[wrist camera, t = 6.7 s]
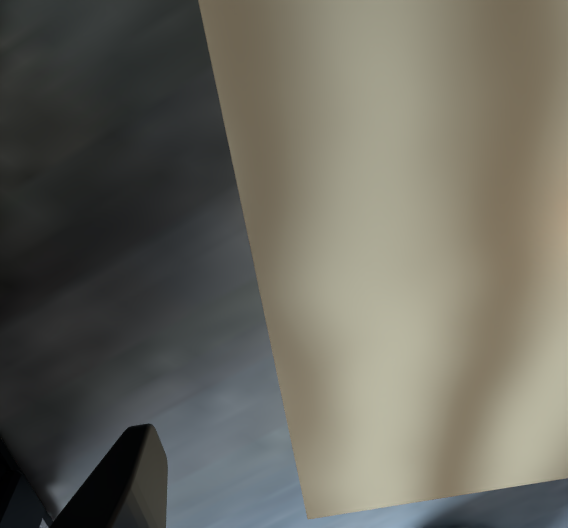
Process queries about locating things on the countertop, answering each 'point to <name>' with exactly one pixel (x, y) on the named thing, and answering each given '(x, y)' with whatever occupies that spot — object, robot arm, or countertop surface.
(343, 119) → the board
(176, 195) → the countertop surface
